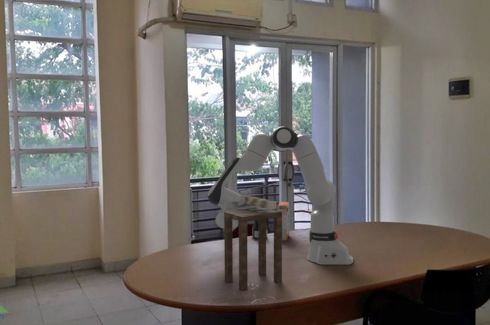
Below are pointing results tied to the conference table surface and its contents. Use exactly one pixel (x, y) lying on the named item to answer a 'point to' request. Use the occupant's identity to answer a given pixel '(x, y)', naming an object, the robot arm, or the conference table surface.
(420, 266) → the conference table surface
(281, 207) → the cracker box
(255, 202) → the bar
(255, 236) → the ink bottle
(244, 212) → the stand
